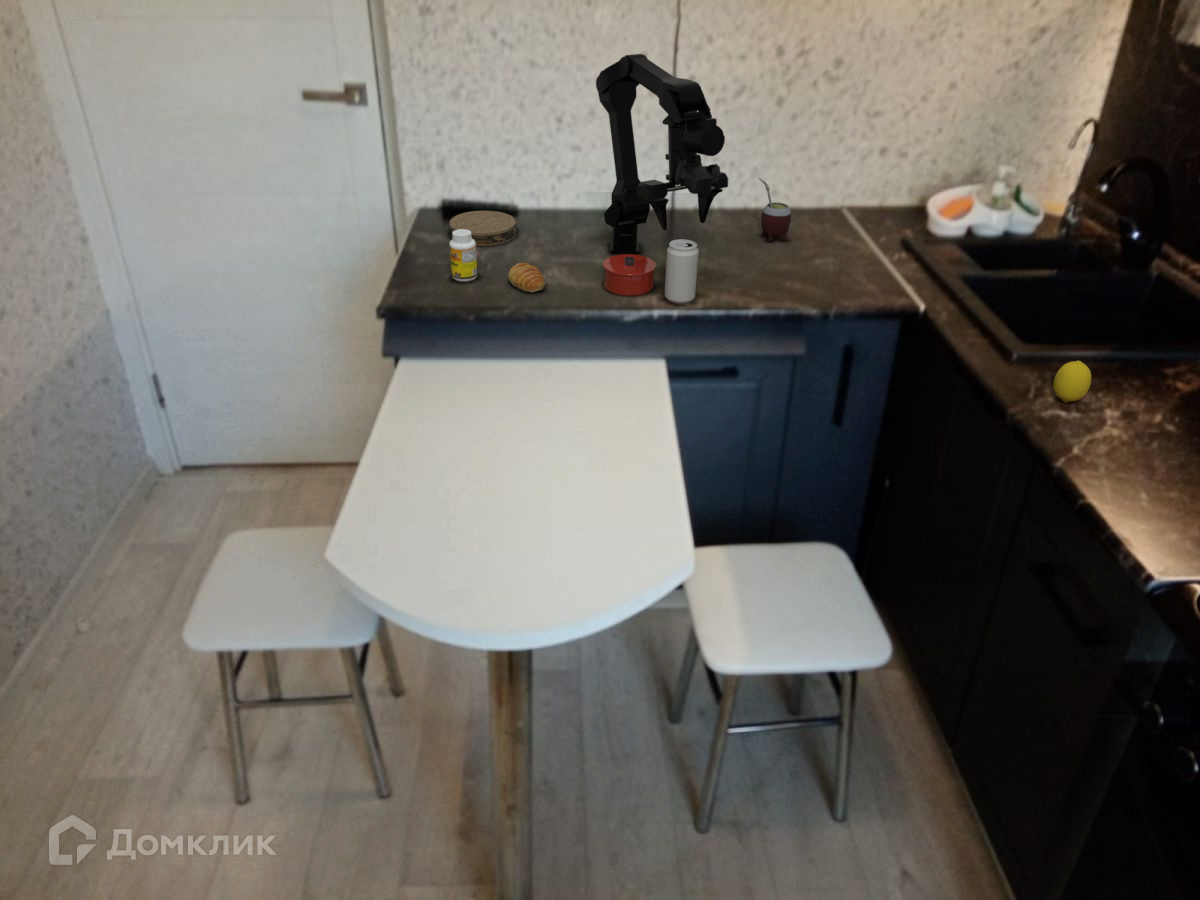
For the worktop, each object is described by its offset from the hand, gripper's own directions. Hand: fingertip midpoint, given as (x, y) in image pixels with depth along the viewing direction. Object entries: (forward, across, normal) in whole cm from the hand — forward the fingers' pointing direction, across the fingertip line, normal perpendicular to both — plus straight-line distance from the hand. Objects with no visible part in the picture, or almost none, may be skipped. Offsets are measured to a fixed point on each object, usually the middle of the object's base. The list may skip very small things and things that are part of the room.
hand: (683, 226), depth 191 cm
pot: (+12, -11, +4) cm, 17 cm away
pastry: (+10, -31, +13) cm, 35 cm away
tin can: (+7, -29, +46) cm, 55 cm away
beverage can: (+13, -5, -6) cm, 15 cm away
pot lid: (+7, -11, +4) cm, 14 cm away
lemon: (+22, +34, -70) cm, 81 cm away
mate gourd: (+12, +34, +16) cm, 39 cm away
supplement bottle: (+9, -42, +22) cm, 48 cm away
